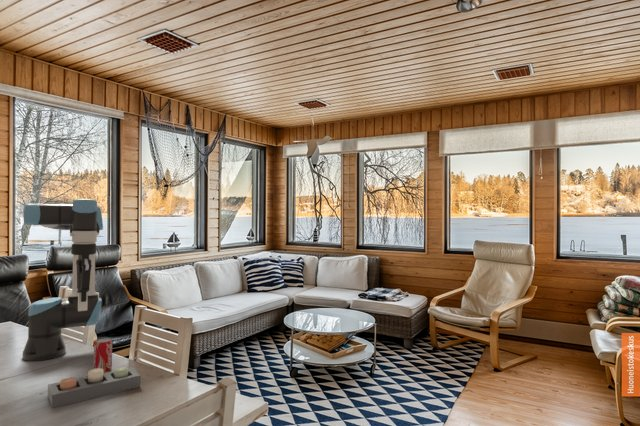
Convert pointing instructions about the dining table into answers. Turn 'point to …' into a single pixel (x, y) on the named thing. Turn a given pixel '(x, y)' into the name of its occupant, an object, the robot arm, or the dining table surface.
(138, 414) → the dining table surface
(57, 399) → the grey slotted tray
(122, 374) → the button sage
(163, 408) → the dining table surface
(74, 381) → the button rust
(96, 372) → the button cream
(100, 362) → the beverage can
